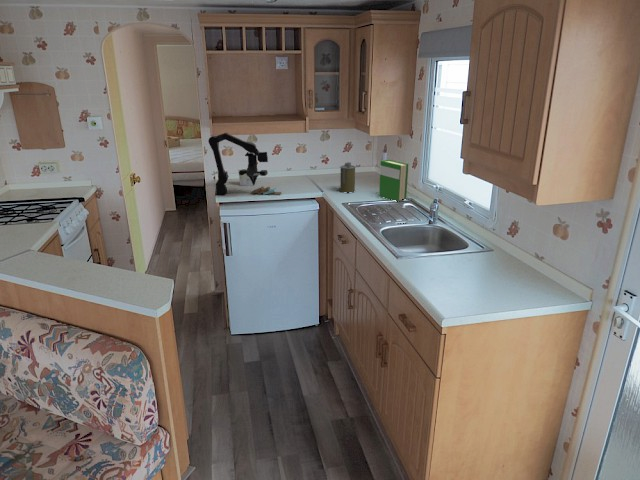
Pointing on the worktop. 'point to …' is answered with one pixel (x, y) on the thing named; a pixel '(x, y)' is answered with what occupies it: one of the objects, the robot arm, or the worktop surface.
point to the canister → (347, 178)
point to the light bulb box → (245, 180)
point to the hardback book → (393, 179)
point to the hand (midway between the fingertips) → (253, 184)
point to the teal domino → (269, 191)
